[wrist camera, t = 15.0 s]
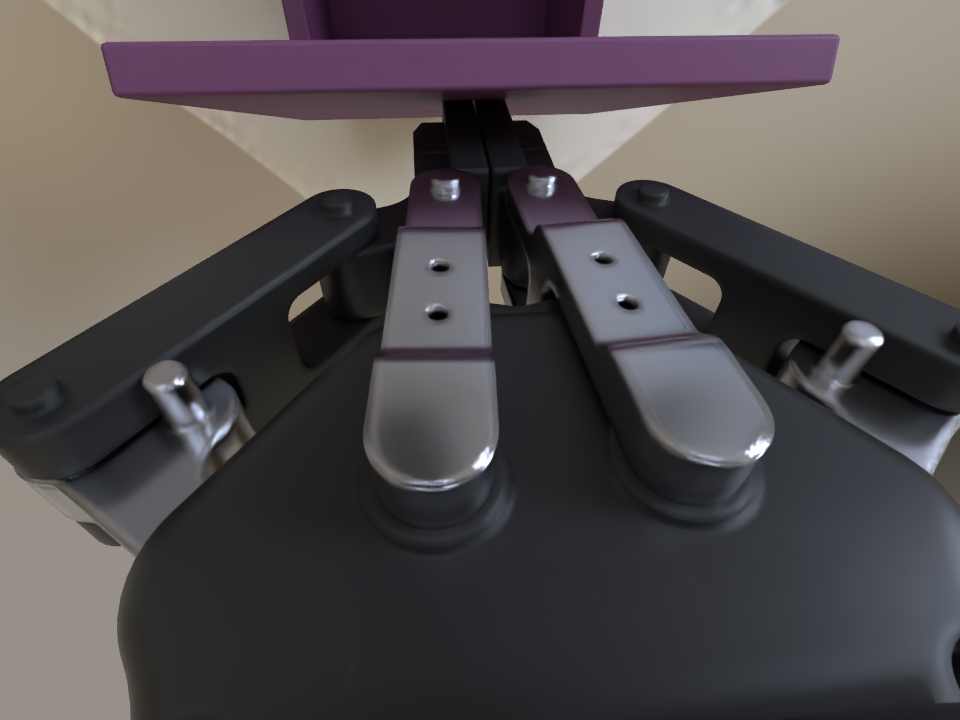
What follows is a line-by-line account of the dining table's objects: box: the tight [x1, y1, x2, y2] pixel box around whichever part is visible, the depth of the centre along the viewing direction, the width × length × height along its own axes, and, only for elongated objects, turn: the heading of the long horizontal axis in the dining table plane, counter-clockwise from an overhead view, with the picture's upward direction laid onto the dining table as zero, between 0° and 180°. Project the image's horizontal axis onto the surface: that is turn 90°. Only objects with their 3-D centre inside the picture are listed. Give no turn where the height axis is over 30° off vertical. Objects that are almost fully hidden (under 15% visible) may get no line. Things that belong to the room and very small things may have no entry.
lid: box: [101, 34, 840, 120], centre depth 16 cm, size 15×13×1 cm
